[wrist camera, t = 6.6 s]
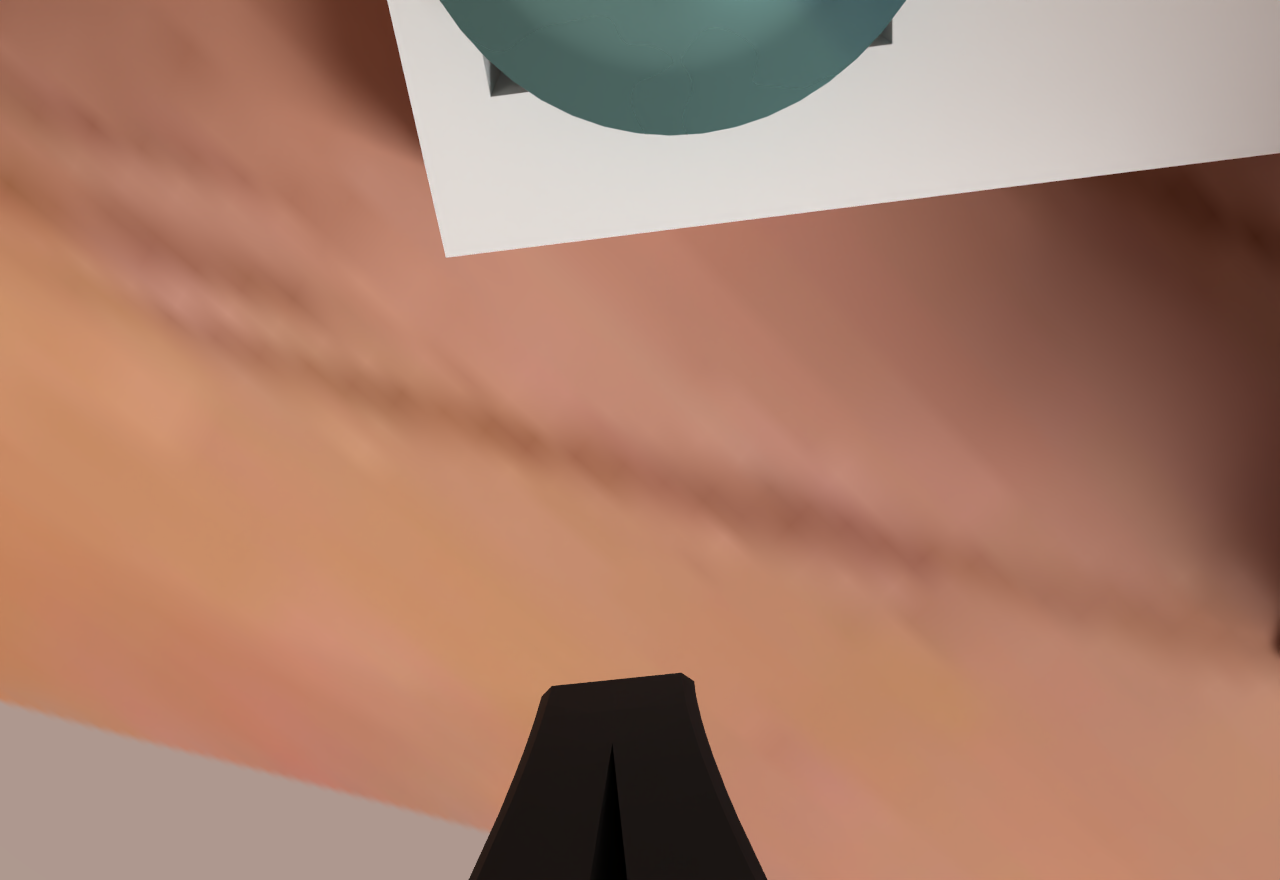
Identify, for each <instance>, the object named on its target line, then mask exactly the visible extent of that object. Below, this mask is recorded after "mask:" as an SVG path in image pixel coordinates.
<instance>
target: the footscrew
mask: <svg viewBox="0 0 1280 880" xmlns="http://www.w3.org/2000/svg"><path fill="white" fill-rule="evenodd" d="M905 1H906V0H440V2H441V3H442V4H443V6H444V7H445V9H446V10H447V12H448V13H449V14H450V16H451V17H452V19H453V20H454V21H455V23H456V24H457V26H458V27H459V29H460V30H461V31H462V32H463V33H464V34H465V35H466V37H467V38H468V39H469V40H470V41H471V42H472V43H473V44H474V45H475V46H476V48H477V49H478V50H479V51H480V52H481V53H482V54H483V55H484V56H485V57H486V58H487V59H488V60H489V61H490V62H491V63H492V64H494V65H495V66H496V67H497V68H498V69H499V70H500V71H502V72H503V73H504V74H505V75H506V76H507V77H509V78H510V79H511V80H512V81H513V82H515V83H516V84H518V85H519V86H521V87H522V88H524V89H525V90H527V91H528V92H530V93H531V94H533V95H534V96H536V97H537V98H539V99H540V100H542V101H544V102H546V103H548V104H550V105H552V106H554V107H556V108H558V109H560V110H562V111H564V112H566V113H568V114H570V115H572V116H575V117H578V118H580V119H583V120H586V121H589V122H592V123H595V124H598V125H601V126H604V127H608V128H613V129H618V130H623V131H628V132H633V133H639V134H653V135H668V136H672V135H688V134H703V133H709V132H714V131H719V130H724V129H729V128H734V127H738V126H741V125H744V124H747V123H750V122H753V121H756V120H759V119H762V118H765V117H768V116H770V115H772V114H774V113H776V112H778V111H780V110H782V109H784V108H787V107H789V106H791V105H793V104H795V103H797V102H799V101H801V100H802V99H804V98H805V97H807V96H808V95H810V94H811V93H813V92H815V91H816V90H818V89H819V88H821V87H822V86H824V85H825V84H827V83H828V82H830V81H831V80H832V79H833V78H835V77H836V76H837V75H838V74H839V73H841V72H842V71H843V70H844V69H845V68H847V67H848V66H849V65H850V64H851V63H853V62H854V61H855V60H856V59H857V58H858V57H859V56H860V55H861V54H862V53H863V52H864V51H865V50H866V49H867V48H868V47H869V46H870V45H871V44H872V42H873V41H874V40H875V39H876V38H877V37H878V36H879V35H880V34H881V33H882V32H883V31H884V29H885V28H886V27H887V25H888V24H889V23H890V21H891V20H892V19H893V17H894V16H895V15H896V13H897V12H898V11H899V9H900V8H901V7H902V5H903V4H904V3H905Z"/></svg>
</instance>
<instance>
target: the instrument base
mask: <svg viewBox="0 0 1280 880" xmlns="http://www.w3.org/2000/svg"><path fill="white" fill-rule="evenodd" d="M387 2H388V6H389V10H390V15H391V19H392V24H393V28H394V32H395V37H396V41H397V45H398V50H399V54H400V59H401V63H402V67H403V72H404V76H405V80H406V85H407V89H408V94H409V98H410V102H411V107H412V111H413V115H414V120H415V124H416V128H417V133H418V137H419V142H420V146H421V150H422V155H423V159H424V163H425V168H426V172H427V177H428V181H429V185H430V190H431V194H432V198H433V203H434V207H435V212H436V216H437V220H438V225H439V229H440V233H441V238H442V242H443V247H444V251H445V255H446V258H447V257H455V256H463V255H471V254H479V253H487V252H495V251H503V250H511V249H519V248H527V247H535V246H542V245H550V244H558V243H566V242H574V241H582V240H590V239H598V238H606V237H614V236H622V235H630V234H638V233H646V232H654V231H662V230H670V229H678V228H686V227H694V226H702V225H710V224H718V223H726V222H734V221H742V220H750V219H758V218H766V217H774V216H782V215H790V214H798V213H806V212H814V211H822V210H830V209H838V208H846V207H854V206H861V205H869V204H877V203H885V202H893V201H901V200H909V199H917V198H925V197H933V196H941V195H949V194H957V193H965V192H973V191H981V190H989V189H997V188H1005V187H1013V186H1021V185H1029V184H1037V183H1045V182H1053V181H1061V180H1069V179H1077V178H1085V177H1093V176H1101V175H1109V174H1117V173H1125V172H1133V171H1141V170H1149V169H1157V168H1165V167H1172V166H1180V165H1188V164H1196V163H1204V162H1212V161H1220V160H1228V159H1236V158H1244V157H1252V156H1260V155H1268V154H1276V153H1280V0H906V1H905V3H904V4H903V5H902V7H901V8H900V9H899V11H898V12H897V13H896V15H895V16H894V17H893V19H892V20H891V21H890V23H889V24H888V25H887V27H886V28H885V29H884V31H883V32H882V33H881V34H880V35H879V36H878V37H877V38H876V39H875V40H874V41H873V42H872V44H871V45H870V46H869V47H868V48H867V49H866V50H865V51H864V52H863V53H862V54H861V55H860V56H859V57H858V58H857V59H856V60H855V61H854V62H853V63H851V64H850V65H849V66H848V67H847V68H845V69H844V70H843V71H842V72H841V73H839V74H838V75H837V76H836V77H835V78H833V79H832V80H831V81H830V82H828V83H827V84H825V85H824V86H822V87H821V88H819V89H818V90H816V91H815V92H813V93H811V94H810V95H808V96H807V97H805V98H804V99H802V100H801V101H799V102H797V103H795V104H793V105H791V106H789V107H787V108H784V109H782V110H780V111H778V112H776V113H774V114H772V115H770V116H768V117H765V118H762V119H759V120H756V121H753V122H750V123H747V124H744V125H741V126H738V127H734V128H729V129H724V130H719V131H714V132H709V133H703V134H688V135H672V136H668V135H653V134H639V133H633V132H628V131H623V130H618V129H613V128H608V127H604V126H601V125H598V124H595V123H592V122H589V121H586V120H583V119H580V118H578V117H575V116H572V115H570V114H568V113H566V112H564V111H562V110H560V109H558V108H556V107H554V106H552V105H550V104H548V103H546V102H544V101H542V100H540V99H539V98H537V97H536V96H534V95H533V94H531V93H530V92H528V91H527V90H525V89H524V88H522V87H521V86H519V85H518V84H516V83H515V82H513V81H512V80H511V79H510V78H509V77H507V76H506V75H505V74H504V73H503V72H502V71H500V70H499V69H498V68H497V67H496V66H495V65H494V64H492V63H491V62H490V61H489V60H488V59H487V58H486V57H485V56H484V55H483V54H482V53H481V52H480V51H479V50H478V49H477V48H476V46H475V45H474V44H473V43H472V42H471V41H470V40H469V39H468V38H467V37H466V35H465V34H464V33H463V32H462V31H461V30H460V29H459V27H458V26H457V24H456V23H455V21H454V20H453V19H452V17H451V16H450V14H449V13H448V12H447V10H446V9H445V7H444V6H443V4H442V3H441V2H440V0H387Z"/></svg>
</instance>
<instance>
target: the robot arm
mask: <svg viewBox="0 0 1280 880" xmlns="http://www.w3.org/2000/svg"><path fill="white" fill-rule="evenodd" d="M469 880H767V878H766V876H765V874H764V872H763V870H762V867H761V865H760V863H759V861H758V859H757V857H756V855H755V853H754V851H753V848H752V846H751V844H750V842H749V840H748V838H747V836H746V834H745V831H744V829H743V827H742V825H741V823H740V821H739V819H738V817H737V814H736V812H735V810H734V807H733V805H732V803H731V800H730V798H729V796H728V793H727V791H726V788H725V786H724V783H723V780H722V778H721V775H720V773H719V770H718V767H717V765H716V762H715V760H714V757H713V754H712V751H711V748H710V745H709V742H708V739H707V736H706V733H705V730H704V726H703V723H702V720H701V716H700V711H699V707H698V703H697V698H696V693H695V685H694V681H693V680H691V679H690V678H688V677H687V676H685V675H684V674H682V673H675V674H665V675H655V676H646V677H636V678H626V679H616V680H607V681H597V682H587V683H578V684H568V685H558V686H552V687H551V688H550V689H549V690H548V691H547V692H546V693H545V694H544V695H543V696H542V697H541V701H540V704H539V708H538V711H537V714H536V718H535V721H534V724H533V727H532V730H531V733H530V735H529V738H528V741H527V744H526V747H525V750H524V752H523V755H522V758H521V760H520V763H519V765H518V768H517V771H516V773H515V776H514V778H513V781H512V783H511V786H510V788H509V790H508V793H507V795H506V798H505V800H504V803H503V805H502V807H501V810H500V812H499V815H498V817H497V819H496V821H495V823H494V826H493V828H492V830H491V832H490V835H489V837H488V839H487V841H486V843H485V845H484V848H483V850H482V852H481V854H480V856H479V859H478V861H477V863H476V865H475V867H474V869H473V872H472V874H471V876H470V878H469Z"/></svg>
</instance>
